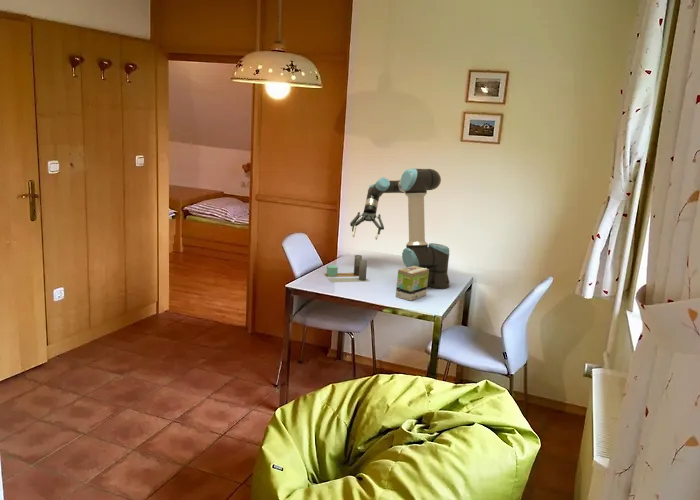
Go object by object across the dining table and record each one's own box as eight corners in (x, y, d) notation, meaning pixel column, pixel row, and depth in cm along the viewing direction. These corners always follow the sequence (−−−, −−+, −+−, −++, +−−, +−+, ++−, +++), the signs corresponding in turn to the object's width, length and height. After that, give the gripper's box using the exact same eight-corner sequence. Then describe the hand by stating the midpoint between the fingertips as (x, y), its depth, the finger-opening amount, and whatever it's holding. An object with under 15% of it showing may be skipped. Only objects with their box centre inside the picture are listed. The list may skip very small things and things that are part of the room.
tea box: (411, 301, 313) (413, 273, 310) (395, 296, 319) (397, 269, 316) (427, 295, 325) (429, 268, 321) (411, 291, 331) (413, 264, 327)
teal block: (337, 276, 346) (337, 267, 344) (328, 276, 344) (329, 267, 343) (334, 273, 350) (335, 265, 349) (326, 274, 349) (326, 265, 348)
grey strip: (369, 283, 340) (370, 262, 337) (330, 284, 334) (331, 262, 331) (365, 279, 347) (366, 258, 344) (327, 280, 340) (328, 259, 338)
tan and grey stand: (363, 277, 349) (365, 257, 346) (326, 278, 343) (327, 258, 340) (360, 274, 356) (361, 254, 353) (323, 275, 350) (324, 254, 347)
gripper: (391, 213, 371) (386, 242, 361) (351, 209, 376) (344, 238, 365) (391, 206, 365) (385, 235, 354) (350, 202, 369) (343, 231, 359)
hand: (364, 237), depth 360 cm, fingers open, 13 cm apart
